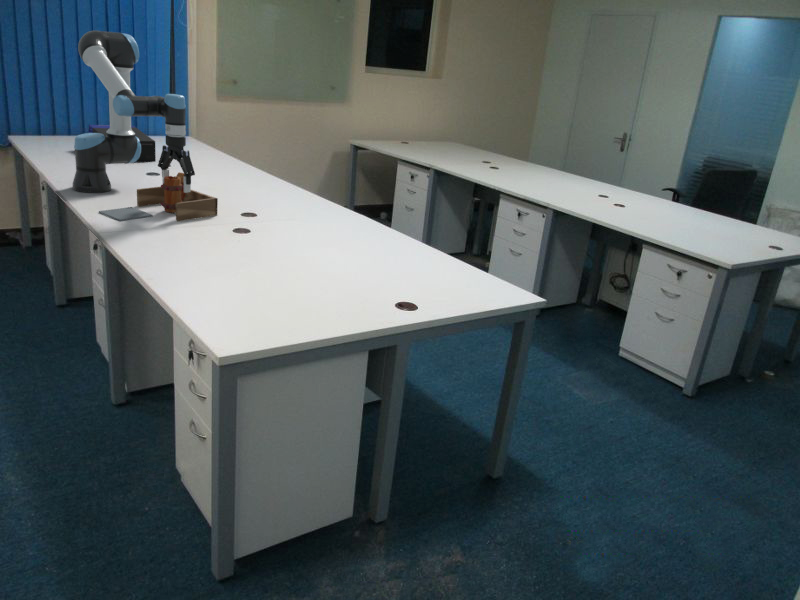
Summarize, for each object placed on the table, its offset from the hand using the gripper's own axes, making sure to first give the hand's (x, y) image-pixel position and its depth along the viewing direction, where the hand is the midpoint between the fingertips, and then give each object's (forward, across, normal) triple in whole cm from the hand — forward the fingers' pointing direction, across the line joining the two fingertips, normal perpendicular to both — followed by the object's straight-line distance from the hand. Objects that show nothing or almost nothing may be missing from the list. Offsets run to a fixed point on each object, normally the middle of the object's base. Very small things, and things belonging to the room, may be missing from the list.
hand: (176, 189), depth 261 cm
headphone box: (+8, -109, +45) cm, 118 cm away
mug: (+9, 0, 0) cm, 9 cm away
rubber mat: (+9, -4, -20) cm, 22 cm away
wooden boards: (+9, 0, 0) cm, 9 cm away
